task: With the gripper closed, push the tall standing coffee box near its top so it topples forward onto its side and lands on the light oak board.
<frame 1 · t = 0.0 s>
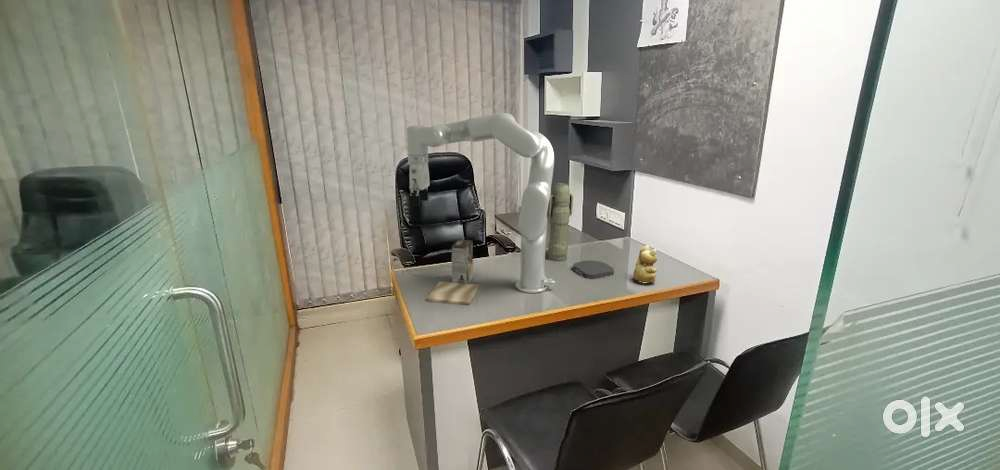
hand: (419, 203, 179), 31 cm above the table, tool pointing down, fingers open, 9 cm apart
decorative figurine: (642, 282, 187), on the table
coffee box: (462, 281, 185), on the table
thermos: (557, 258, 213), on the table
media streaming box: (592, 272, 197), on the table
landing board: (453, 293, 173), on the table
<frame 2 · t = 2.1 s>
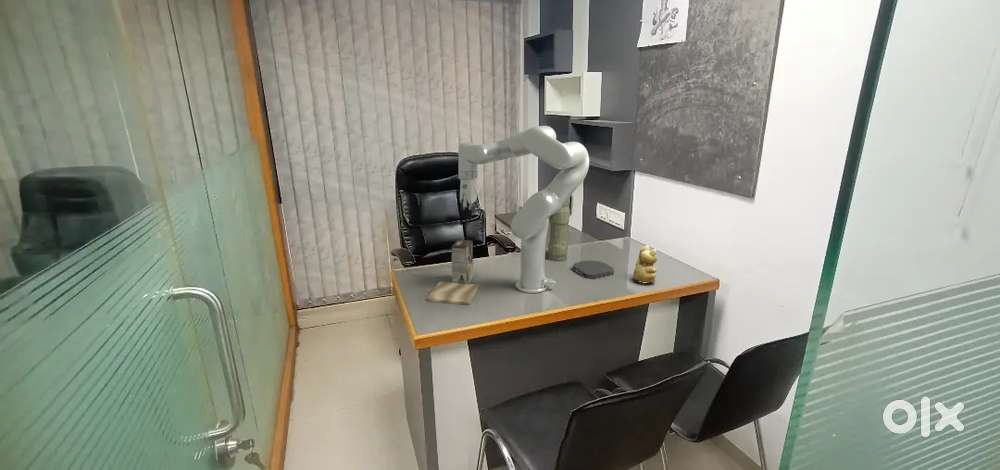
hand: (467, 218, 188), 23 cm above the table, tool pointing down, fingers closed
nothing on the table moved.
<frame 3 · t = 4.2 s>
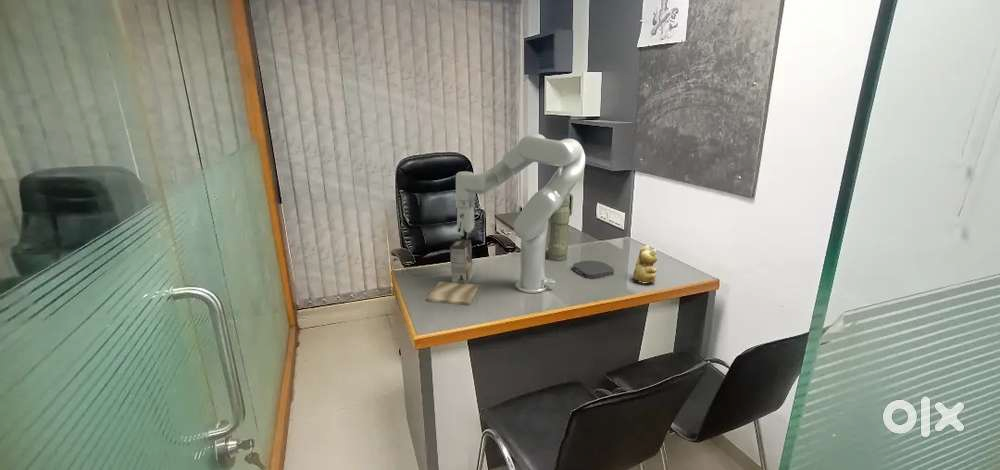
hand: (465, 246, 187), 13 cm above the table, tool pointing down, fingers closed
coffee box: (462, 280, 185), on the table, touching gripper
everything else where it was.
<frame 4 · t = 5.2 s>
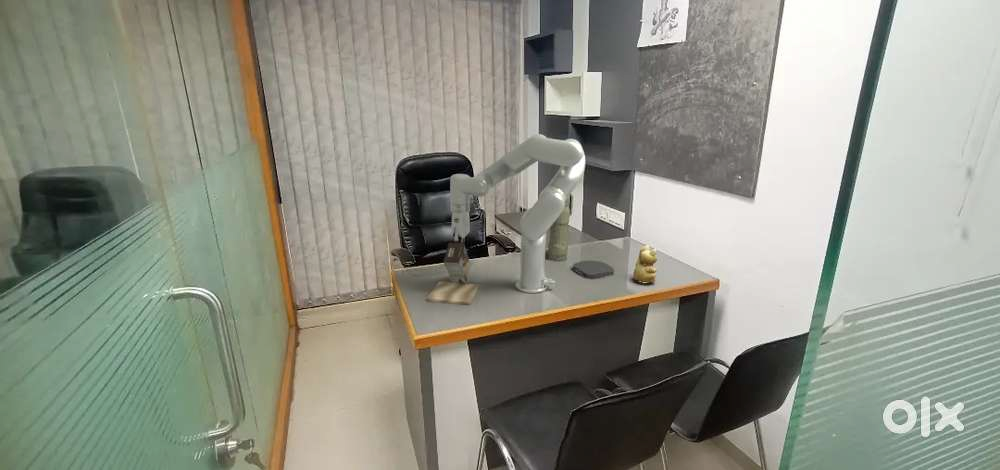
hand: (459, 252, 180), 13 cm above the table, tool pointing down, fingers closed
coffee box: (461, 275, 184), point 2 cm above the table, touching gripper, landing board
everything else where it was.
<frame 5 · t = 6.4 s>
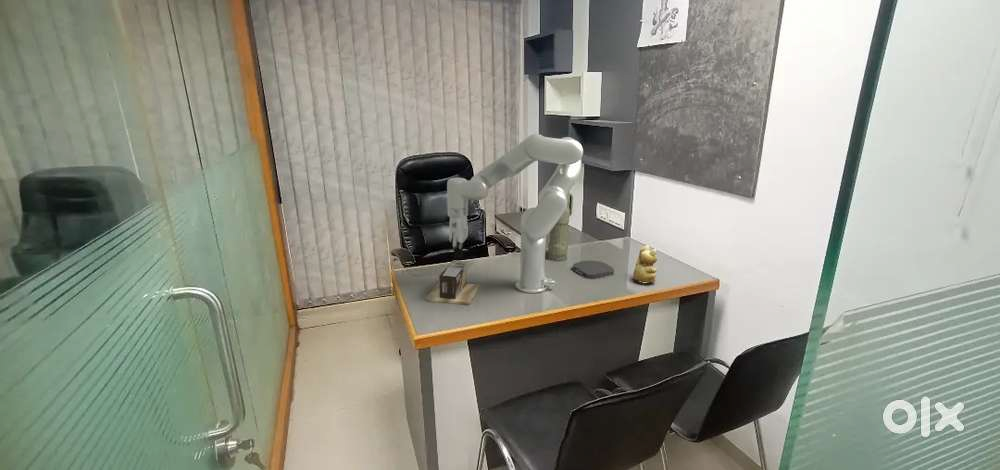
hand: (458, 257, 176), 12 cm above the table, tool pointing down, fingers closed
coffee box: (460, 271, 181), point 5 cm above the table, touching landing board
everything else where it was.
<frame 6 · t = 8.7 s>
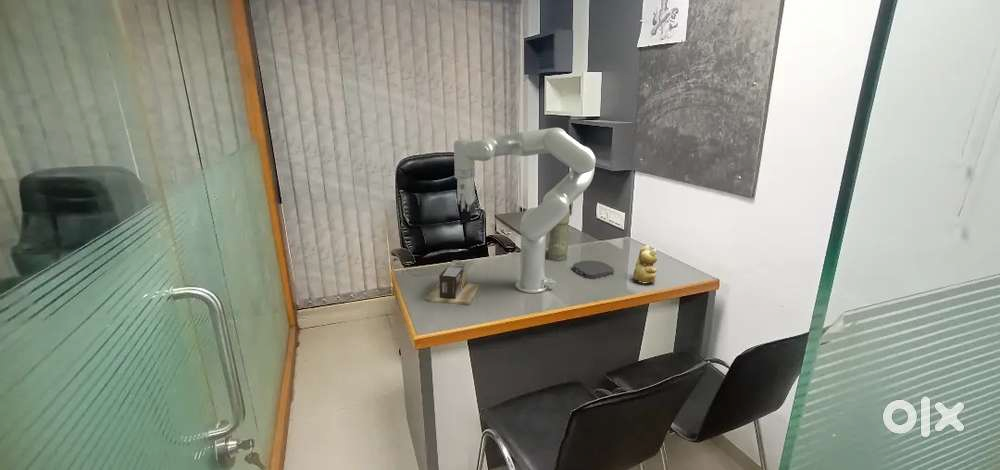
hand: (466, 221, 176), 26 cm above the table, tool pointing down, fingers closed
nothing on the table moved.
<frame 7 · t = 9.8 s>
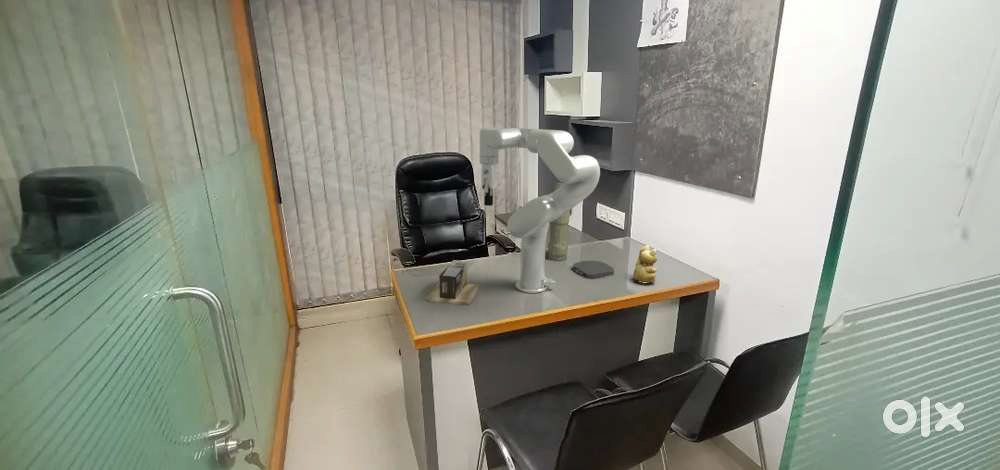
hand: (488, 205, 187), 29 cm above the table, tool pointing down, fingers closed
nothing on the table moved.
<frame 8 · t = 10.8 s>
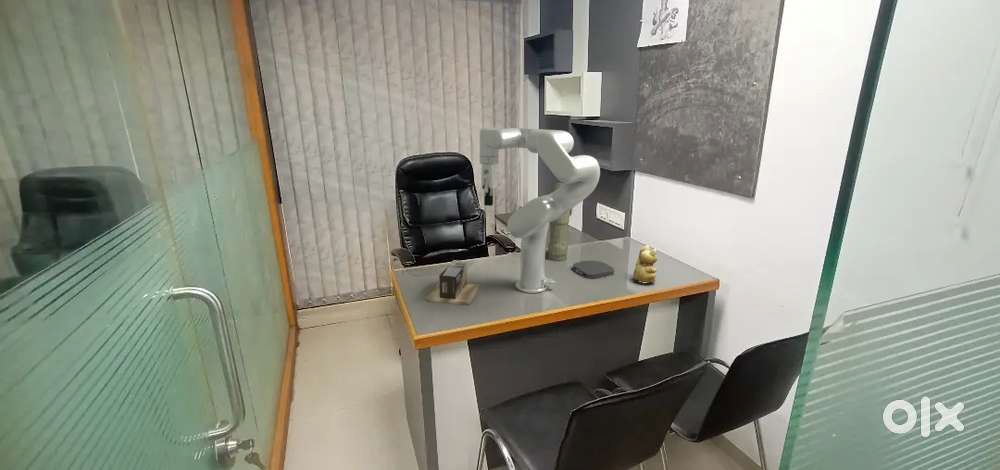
hand: (488, 205, 187), 29 cm above the table, tool pointing down, fingers closed
nothing on the table moved.
at the end: coffee box tilted 89°; coffee box touching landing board; coffee box inside the target area (7.2 cm from its centre), point 5.4 cm above the table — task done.
